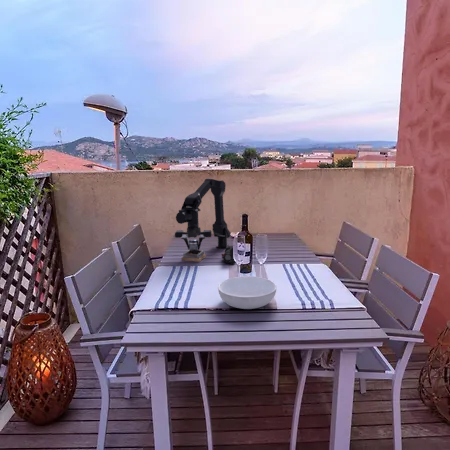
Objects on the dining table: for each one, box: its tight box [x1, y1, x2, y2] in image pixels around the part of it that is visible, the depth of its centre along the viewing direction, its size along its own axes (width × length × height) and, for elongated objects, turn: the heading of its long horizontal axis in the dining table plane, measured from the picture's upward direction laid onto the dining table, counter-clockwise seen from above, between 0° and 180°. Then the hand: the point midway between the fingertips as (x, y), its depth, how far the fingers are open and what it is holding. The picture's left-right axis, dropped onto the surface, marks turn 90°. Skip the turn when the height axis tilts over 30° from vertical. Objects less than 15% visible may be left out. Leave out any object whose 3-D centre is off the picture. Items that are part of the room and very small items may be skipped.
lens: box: [189, 238, 200, 254], centre depth 180 cm, size 5×5×7 cm
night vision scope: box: [221, 245, 236, 265], centre depth 175 cm, size 8×18×10 cm
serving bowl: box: [217, 275, 278, 310], centre depth 123 cm, size 21×21×7 cm
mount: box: [181, 249, 207, 263], centre depth 181 cm, size 10×10×4 cm
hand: (193, 249), depth 180 cm, fingers closed on lens, 5 cm apart
